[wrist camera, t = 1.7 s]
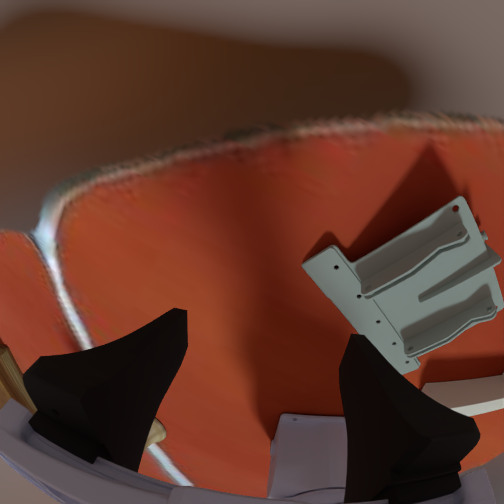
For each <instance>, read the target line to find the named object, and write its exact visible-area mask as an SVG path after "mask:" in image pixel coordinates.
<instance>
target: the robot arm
mask: <svg viewBox="0 0 504 504" xmlns="http://www.w3.org/2000/svg"><path fill="white" fill-rule="evenodd" d="M187 347H188V333H187V310H183V309H178V308H173V309H171V310H170V311H168V312H166V313H165V314H163V315H161V316H160V317H158V318H157V319H155V320H153V321H152V322H150V323H148V324H147V325H145V326H143V327H141V328H140V329H138V330H136V331H134V332H132V333H130V334H128V335H126V336H124V337H122V338H120V339H118V340H115V341H113V342H110V343H107V344H105V345H102V346H98V347H95V348H92V349H88V350H84V351H80V352H75V353H69V354H63V355H52V356H41V357H40V358H39V359H38V360H37V361H36V362H35V363H34V364H33V365H32V366H31V367H30V368H29V369H28V370H27V371H26V372H25V373H24V374H23V377H22V378H23V384H24V386H25V389H26V391H27V393H28V394H29V396H30V398H31V400H32V402H33V403H34V405H35V407H36V409H37V411H36V413H35V414H34V415H33V414H32V412H31V411H30V410H28V409H27V408H26V407H24V406H23V405H21V404H20V403H18V402H17V401H16V400H14V399H13V398H10V399H9V400H8V402H7V403H6V404H5V405H4V406H3V407H2V408H1V410H0V456H1V457H2V459H3V460H4V461H5V462H6V463H7V464H8V465H9V466H10V467H12V468H13V469H14V470H15V471H17V472H18V473H19V474H20V475H22V476H23V477H24V478H25V479H27V480H28V481H29V482H31V483H32V484H34V485H35V486H36V487H38V488H39V489H40V490H42V491H43V492H45V493H46V494H47V495H49V496H51V497H52V498H54V499H55V500H56V501H58V502H60V503H61V504H496V500H495V497H494V493H493V490H492V487H491V484H490V481H489V478H488V475H487V472H486V469H485V468H481V469H479V470H476V471H473V472H470V473H467V474H465V475H463V476H461V477H460V478H459V475H458V472H459V471H460V470H461V465H460V461H461V460H462V459H463V458H464V457H465V456H466V455H467V454H468V453H469V452H470V451H471V450H472V449H473V448H474V447H475V446H476V445H477V443H478V441H479V439H480V432H479V429H478V427H477V425H476V423H475V421H474V419H473V418H471V417H469V416H466V415H463V414H461V413H458V412H456V411H454V410H452V409H450V408H448V407H446V406H444V405H442V404H440V403H439V402H437V401H435V400H434V399H432V398H431V397H429V396H428V395H426V394H425V393H423V392H422V391H420V390H419V389H418V388H417V387H415V386H414V385H413V384H412V383H410V382H409V381H408V380H407V379H406V378H405V377H403V376H402V375H401V374H400V373H399V372H398V371H397V370H396V369H395V368H394V367H393V366H392V365H391V364H390V363H389V362H388V361H387V359H386V358H385V357H384V356H383V355H382V354H381V353H380V352H379V351H378V349H377V348H376V347H375V346H374V345H373V344H372V343H371V341H370V340H369V339H368V338H367V337H366V336H365V335H360V334H351V336H350V339H349V342H348V345H347V348H346V350H345V353H344V356H343V359H342V361H341V364H340V367H339V384H340V393H341V398H342V404H343V410H344V416H345V417H331V416H311V415H297V414H282V415H281V416H280V420H279V423H278V427H277V430H276V434H275V437H274V440H272V442H271V447H270V455H271V460H270V469H269V477H268V486H267V498H260V497H252V496H244V495H238V494H231V493H226V492H220V491H215V490H210V489H205V488H199V487H192V486H178V485H174V484H170V483H167V482H164V481H161V480H157V479H154V478H151V477H148V476H145V475H143V474H140V473H138V469H139V465H140V461H141V458H142V454H143V451H144V448H145V444H146V441H147V438H148V435H149V432H150V429H151V427H152V424H153V421H154V418H155V416H156V413H157V411H158V408H159V406H160V404H161V402H162V399H163V398H164V396H165V394H166V392H167V390H168V388H169V386H170V385H171V383H172V381H173V379H174V377H175V375H176V373H177V372H178V370H179V368H180V366H181V364H182V361H183V359H184V356H185V353H186V350H187Z"/></svg>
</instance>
